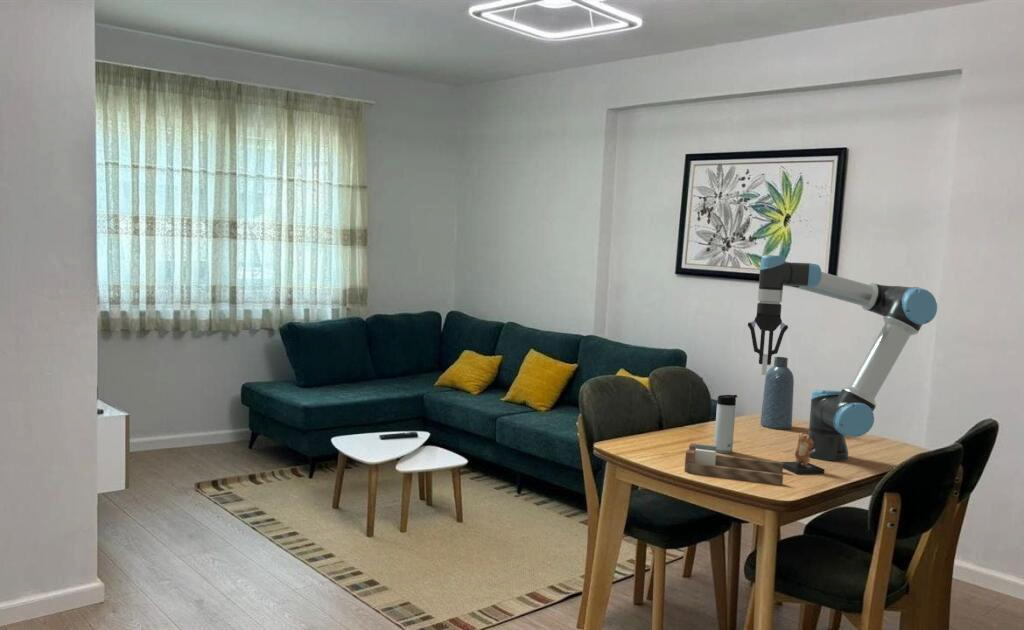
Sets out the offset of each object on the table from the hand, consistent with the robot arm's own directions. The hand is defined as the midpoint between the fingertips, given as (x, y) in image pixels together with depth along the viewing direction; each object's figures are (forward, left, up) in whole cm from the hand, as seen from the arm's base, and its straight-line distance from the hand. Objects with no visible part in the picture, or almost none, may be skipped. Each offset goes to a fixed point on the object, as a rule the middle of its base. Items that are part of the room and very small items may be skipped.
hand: (763, 374), depth 276 cm
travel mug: (+12, -11, -30) cm, 34 cm away
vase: (-5, -70, -30) cm, 76 cm away
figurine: (-14, +2, -30) cm, 33 cm away
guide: (+6, +17, -29) cm, 34 cm away
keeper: (+16, +17, -29) cm, 37 cm away
